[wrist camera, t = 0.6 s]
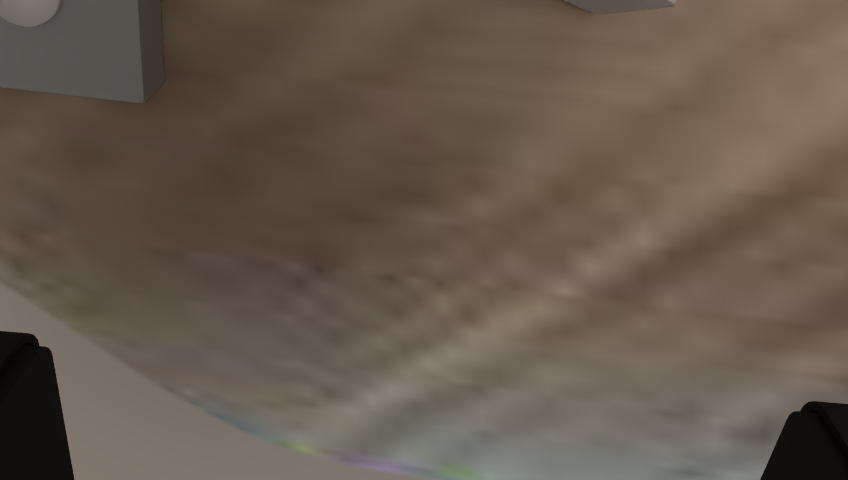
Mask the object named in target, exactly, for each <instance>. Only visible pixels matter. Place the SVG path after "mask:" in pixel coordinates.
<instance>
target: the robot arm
mask: <svg viewBox="0 0 848 480" xmlns="http://www.w3.org/2000/svg"><path fill="white" fill-rule="evenodd" d="M0 480H74V475H73V469H72V464H71V459H70V452H69V447H68V441H67V435H66V430H65V424H64V419H63V413H62V407H61V401H60V397H59V390H58V385H57V379H56V373H55V368H54V363H53V356H52V353H51V351H50V349H49V348H47V347H41V346H39V343H38V340H37V338H36V337H35V336H34V335H32V334H28V333H17V332H4V331H0ZM760 480H848V404H839V403H828V402H816V401H813V402H808V403H806V404H805V405H804V406H803V407H802V409H801V411H800V412H799V411H796V412H793V413H791V414H790V415H789V417H788V419H787V420H786V423H785V425H784V427H783V430H782V432H781V434H780V436H779V439H778V441H777V443H776V445H775V448H774V450H773V452H772V454H771V457H770V459H769V461H768V464H767V466H766V468H765V470H764V473H763V475H762V477H761V479H760Z"/></svg>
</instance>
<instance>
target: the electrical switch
mask: <svg viewBox="0 0 848 480" xmlns="http://www.w3.org/2000/svg"><path fill="white" fill-rule="evenodd" d="M563 1H566V2H568V3H570V4H572V5H574V6H577V7H579V8H581V9H583V10H586V11H589V12H593V13H596V14H610V13H619V12H629V11H638V10H647V9H657V8H666V7H674V5H675V3H676V1H677V0H563Z"/></svg>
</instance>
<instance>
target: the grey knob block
mask: <svg viewBox="0 0 848 480" xmlns="http://www.w3.org/2000/svg"><path fill="white" fill-rule="evenodd" d="M164 82H165V81H164V60H163V39H162V18H161V0H0V87H3V88H12V89H20V90H29V91H38V92H46V93H55V94H64V95H73V96H81V97H90V98H99V99H107V100H116V101H125V102H133V103H142V104H144V103H145V102H146V101H147V100H148V99H149V98H150V97H151V96H152V95H153V94H154V93H155V92H156V90H157V89H158V88H159V87H160V86H161V85H162V84H163V83H164Z"/></svg>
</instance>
